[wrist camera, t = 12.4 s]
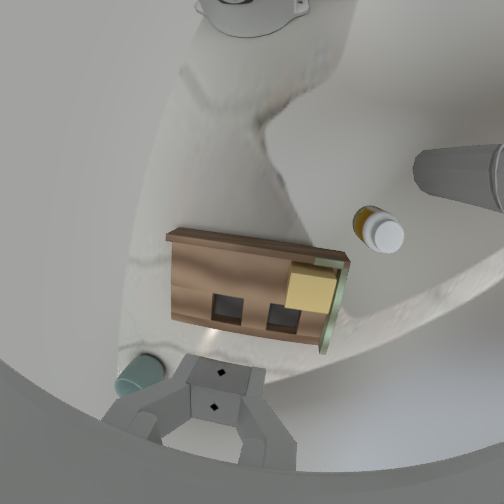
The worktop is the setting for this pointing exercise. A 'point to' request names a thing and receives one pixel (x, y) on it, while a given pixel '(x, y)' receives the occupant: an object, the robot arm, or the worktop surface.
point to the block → (310, 287)
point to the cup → (139, 375)
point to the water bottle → (464, 174)
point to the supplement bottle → (378, 229)
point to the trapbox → (248, 286)
